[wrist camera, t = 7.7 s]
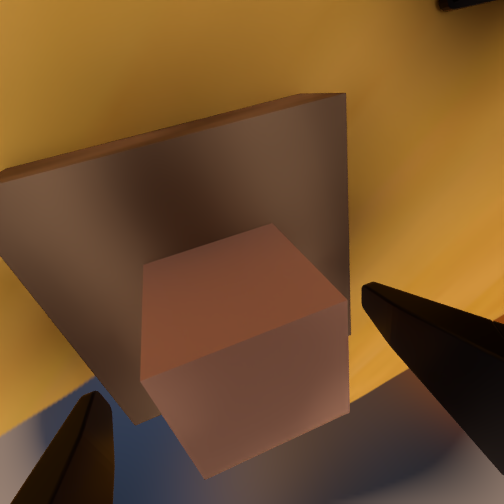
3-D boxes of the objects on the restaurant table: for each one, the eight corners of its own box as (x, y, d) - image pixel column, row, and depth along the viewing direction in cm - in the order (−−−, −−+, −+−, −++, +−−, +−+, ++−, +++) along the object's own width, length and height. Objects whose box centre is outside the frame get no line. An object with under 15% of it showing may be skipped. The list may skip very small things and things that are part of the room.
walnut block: (294, 93, 13) (346, 93, 10) (315, 293, 19) (350, 334, 16) (12, 165, 11) (-48, 196, 8) (137, 361, 17) (135, 425, 14)
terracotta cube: (272, 223, 11) (347, 300, 7) (287, 315, 14) (349, 412, 10) (143, 264, 10) (139, 381, 6) (186, 354, 13) (204, 480, 9)
